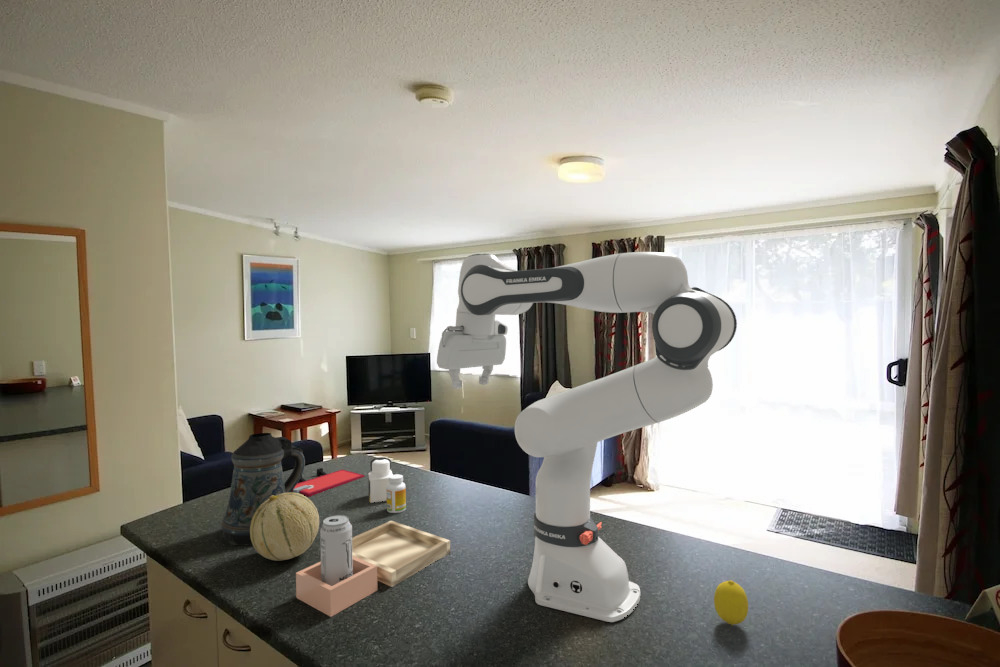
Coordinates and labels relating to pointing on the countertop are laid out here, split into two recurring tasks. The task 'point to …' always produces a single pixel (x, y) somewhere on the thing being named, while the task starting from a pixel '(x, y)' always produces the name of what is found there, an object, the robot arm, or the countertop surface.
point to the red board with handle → (324, 482)
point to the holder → (336, 587)
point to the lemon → (731, 602)
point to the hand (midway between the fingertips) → (470, 386)
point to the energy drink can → (336, 549)
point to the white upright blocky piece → (379, 479)
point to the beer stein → (257, 481)
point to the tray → (398, 550)
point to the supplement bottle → (396, 494)
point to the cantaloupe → (284, 526)
